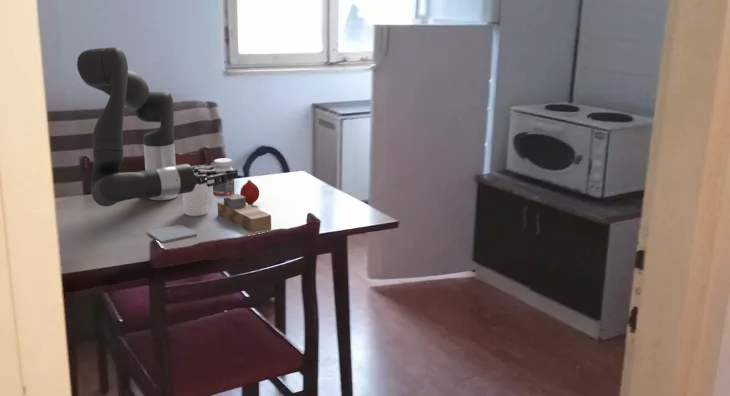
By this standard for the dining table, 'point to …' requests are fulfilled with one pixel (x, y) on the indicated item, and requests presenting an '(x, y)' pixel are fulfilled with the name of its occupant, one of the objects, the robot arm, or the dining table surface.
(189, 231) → the grey pad
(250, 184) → the onion
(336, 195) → the dining table surface
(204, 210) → the white cup
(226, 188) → the pill bottle
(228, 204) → the wooden block
